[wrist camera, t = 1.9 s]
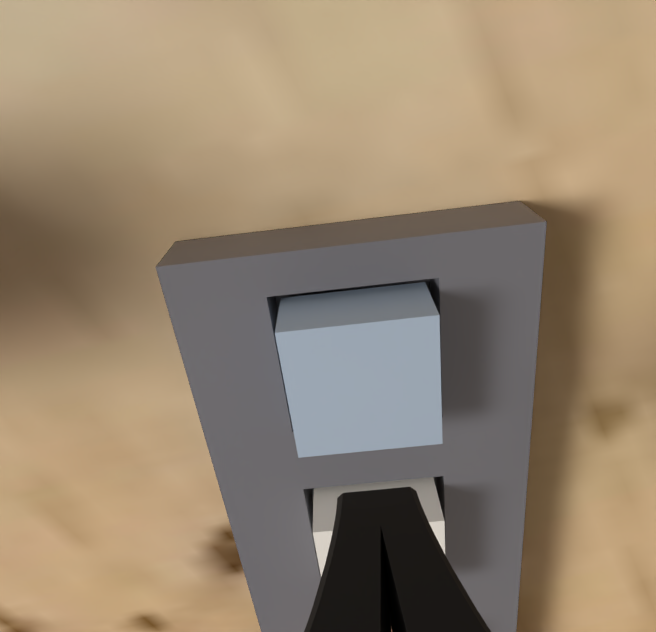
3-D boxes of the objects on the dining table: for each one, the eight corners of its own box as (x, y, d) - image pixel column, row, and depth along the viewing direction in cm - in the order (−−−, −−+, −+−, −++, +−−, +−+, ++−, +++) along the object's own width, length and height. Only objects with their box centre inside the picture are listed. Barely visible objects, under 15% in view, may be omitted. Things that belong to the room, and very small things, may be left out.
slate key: (429, 400, 16) (442, 443, 14) (301, 412, 16) (298, 457, 14) (424, 282, 14) (439, 315, 12) (280, 298, 14) (274, 332, 13)
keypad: (498, 643, 24) (511, 690, 22) (286, 659, 25) (283, 707, 23) (519, 200, 15) (546, 221, 13) (175, 241, 15) (155, 266, 13)
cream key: (435, 553, 19) (446, 605, 17) (327, 562, 19) (328, 614, 18) (432, 472, 17) (444, 520, 16) (313, 483, 18) (312, 532, 16)
